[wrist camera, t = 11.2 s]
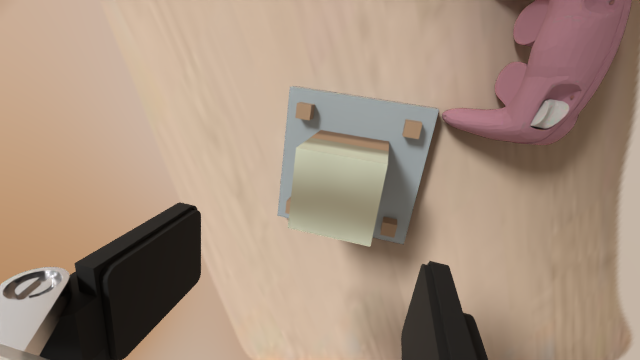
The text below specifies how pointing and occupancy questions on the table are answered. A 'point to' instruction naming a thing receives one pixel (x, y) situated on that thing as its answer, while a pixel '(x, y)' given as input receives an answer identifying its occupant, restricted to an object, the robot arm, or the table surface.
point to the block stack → (338, 186)
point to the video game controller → (550, 71)
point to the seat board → (371, 122)
